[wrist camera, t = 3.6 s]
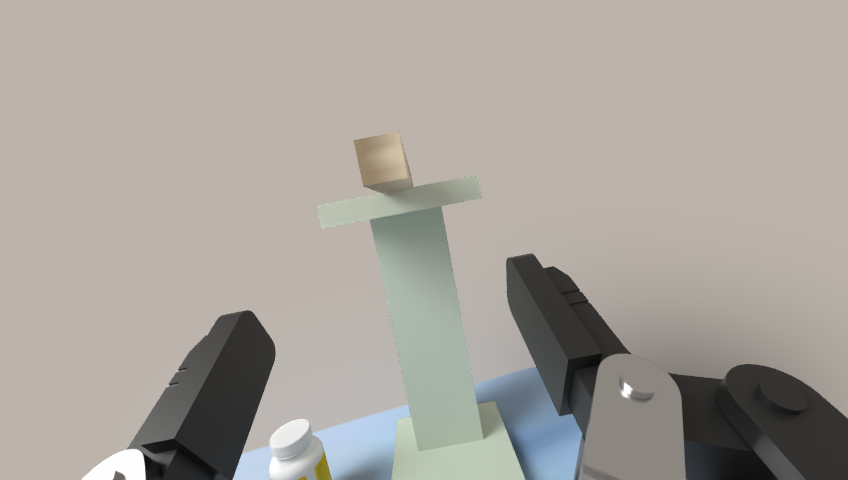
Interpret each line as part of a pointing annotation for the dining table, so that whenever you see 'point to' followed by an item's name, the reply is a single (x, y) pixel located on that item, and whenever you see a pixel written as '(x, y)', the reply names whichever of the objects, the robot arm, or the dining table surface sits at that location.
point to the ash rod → (383, 163)
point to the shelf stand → (430, 337)
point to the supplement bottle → (297, 454)
